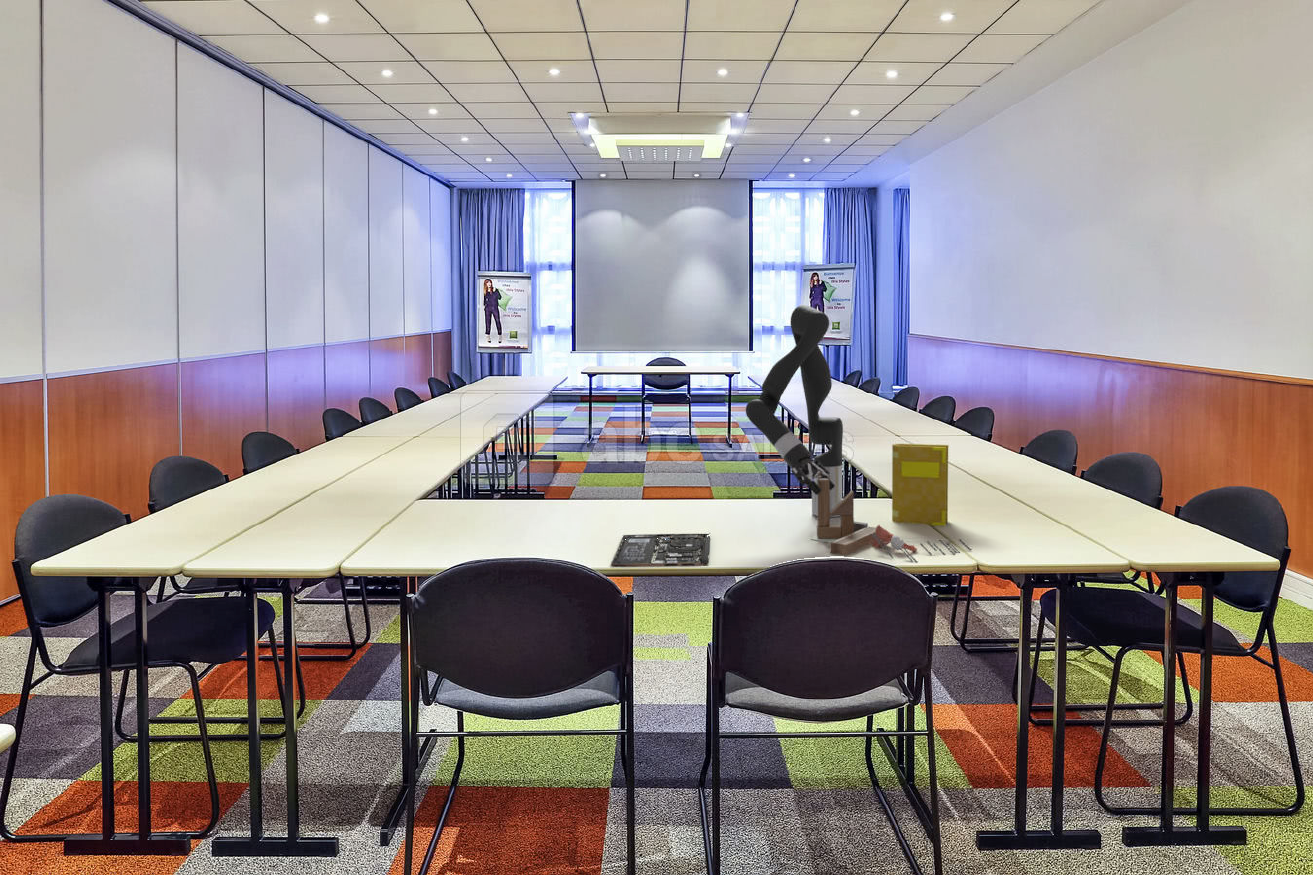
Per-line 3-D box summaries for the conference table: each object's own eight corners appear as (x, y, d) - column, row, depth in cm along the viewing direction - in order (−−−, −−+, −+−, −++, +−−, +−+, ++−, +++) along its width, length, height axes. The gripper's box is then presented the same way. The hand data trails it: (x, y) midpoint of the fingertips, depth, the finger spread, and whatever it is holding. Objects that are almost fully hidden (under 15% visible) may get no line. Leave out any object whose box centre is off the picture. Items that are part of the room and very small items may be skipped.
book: (947, 521, 301) (948, 444, 298) (944, 526, 295) (945, 447, 292) (894, 518, 308) (894, 443, 305) (890, 522, 302) (890, 446, 299)
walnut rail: (816, 550, 269) (816, 537, 268) (854, 534, 287) (854, 521, 287) (846, 555, 263) (846, 541, 262) (883, 538, 281) (883, 525, 281)
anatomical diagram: (866, 524, 267) (939, 512, 275) (861, 549, 271) (933, 536, 280) (906, 567, 251) (983, 553, 259) (900, 593, 255) (975, 578, 263)
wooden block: (853, 538, 280) (853, 479, 278) (817, 539, 281) (817, 480, 279) (852, 536, 284) (852, 477, 282) (816, 536, 285) (816, 478, 283)
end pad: (810, 539, 282) (810, 538, 282) (823, 534, 288) (823, 533, 288) (846, 544, 275) (846, 543, 275) (858, 539, 281) (858, 538, 281)
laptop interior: (622, 538, 293) (622, 533, 293) (711, 536, 291) (711, 531, 291) (607, 570, 259) (607, 563, 258) (708, 568, 256) (708, 561, 256)
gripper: (787, 445, 280) (822, 486, 274) (811, 439, 291) (844, 479, 285) (772, 461, 283) (806, 502, 278) (796, 455, 295) (829, 494, 289)
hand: (825, 490), depth 281 cm, fingers open, 8 cm apart
